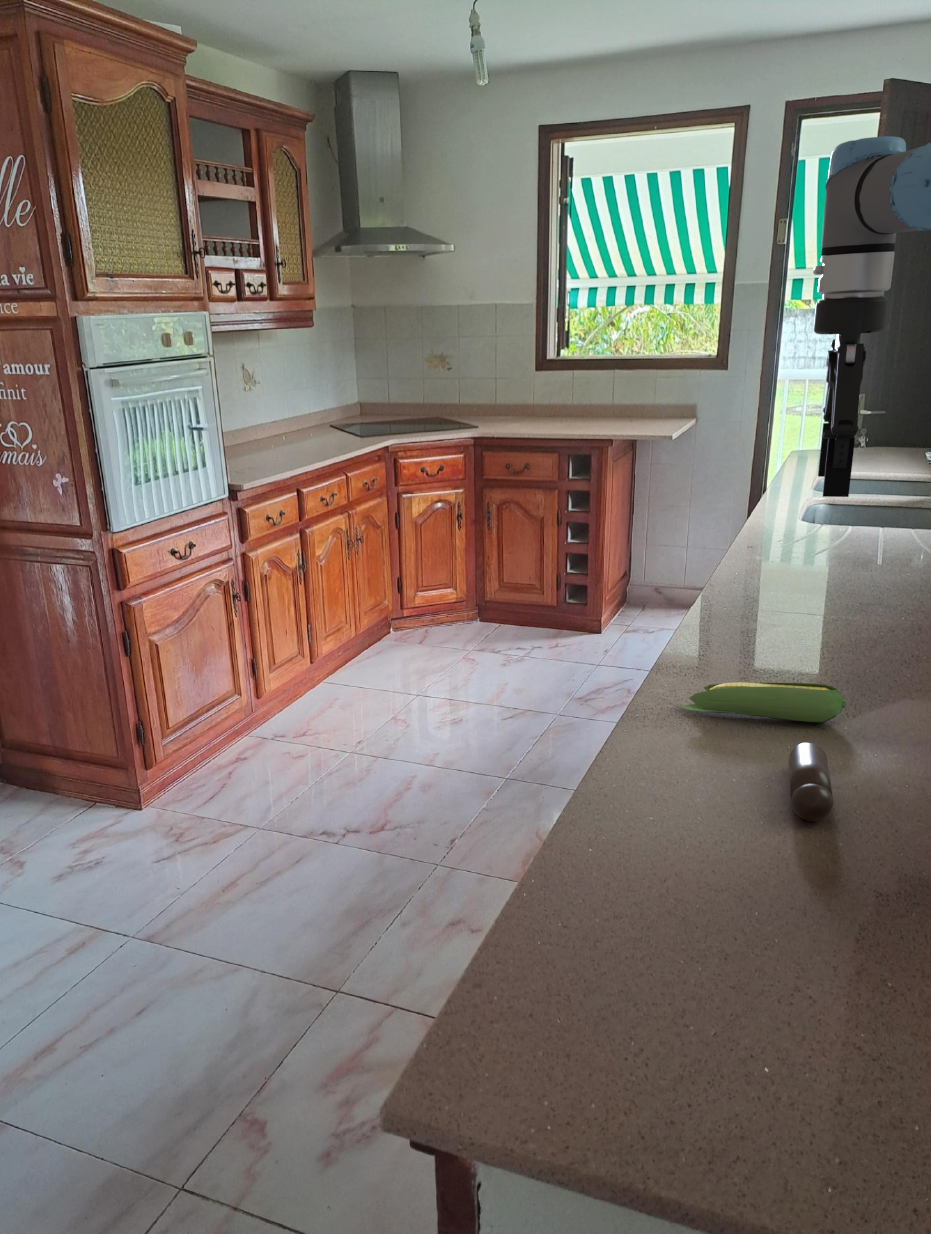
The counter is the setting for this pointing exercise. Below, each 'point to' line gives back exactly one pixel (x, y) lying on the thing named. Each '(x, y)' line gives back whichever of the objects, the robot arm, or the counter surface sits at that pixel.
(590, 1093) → the counter surface
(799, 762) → the dark brown capsule
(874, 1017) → the counter surface
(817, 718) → the edible corn
